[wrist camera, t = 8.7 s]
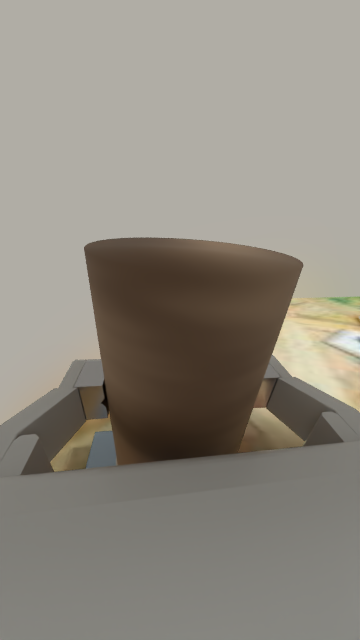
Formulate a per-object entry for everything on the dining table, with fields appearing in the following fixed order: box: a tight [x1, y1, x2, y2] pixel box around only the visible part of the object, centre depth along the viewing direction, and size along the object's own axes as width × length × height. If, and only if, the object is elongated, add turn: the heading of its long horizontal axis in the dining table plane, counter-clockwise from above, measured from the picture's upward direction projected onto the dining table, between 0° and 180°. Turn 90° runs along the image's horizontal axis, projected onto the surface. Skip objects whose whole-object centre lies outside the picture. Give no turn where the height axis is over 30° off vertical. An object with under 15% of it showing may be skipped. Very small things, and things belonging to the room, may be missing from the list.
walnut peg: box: [84, 238, 303, 466], centre depth 9 cm, size 6×6×14 cm
